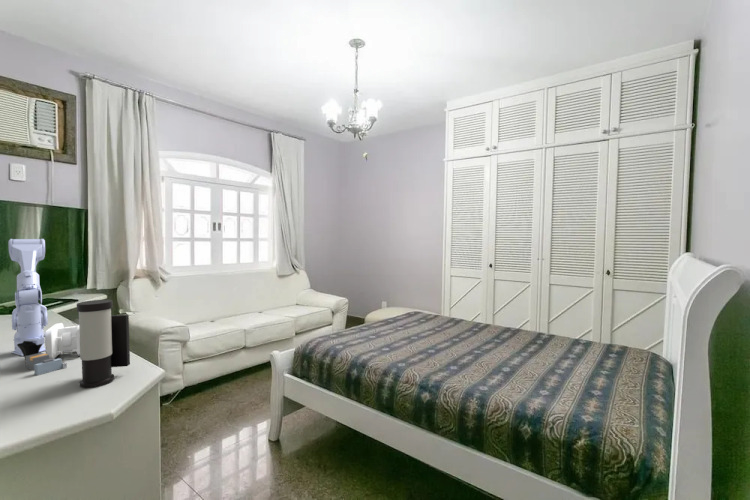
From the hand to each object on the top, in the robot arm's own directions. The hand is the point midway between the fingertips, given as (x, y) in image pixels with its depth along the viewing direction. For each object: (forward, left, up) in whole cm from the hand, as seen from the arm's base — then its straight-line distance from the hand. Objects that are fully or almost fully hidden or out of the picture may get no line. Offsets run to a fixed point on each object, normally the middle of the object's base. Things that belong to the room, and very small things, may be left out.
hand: (31, 362), depth 120 cm
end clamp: (+13, 0, -1) cm, 13 cm away
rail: (+5, +3, -1) cm, 6 cm away
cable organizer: (-1, +11, -1) cm, 11 cm away
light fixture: (+37, +2, -1) cm, 37 cm away
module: (+4, 0, -1) cm, 5 cm away
